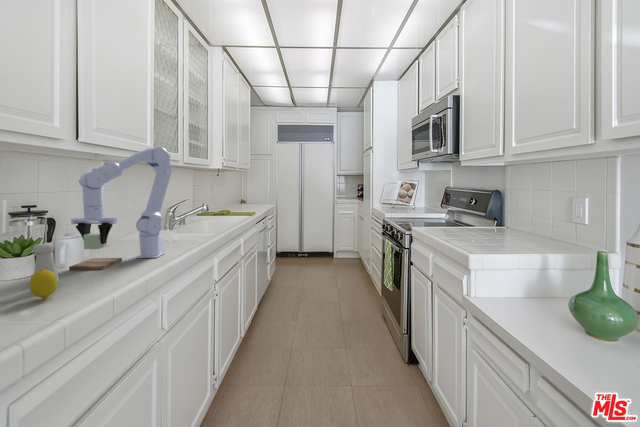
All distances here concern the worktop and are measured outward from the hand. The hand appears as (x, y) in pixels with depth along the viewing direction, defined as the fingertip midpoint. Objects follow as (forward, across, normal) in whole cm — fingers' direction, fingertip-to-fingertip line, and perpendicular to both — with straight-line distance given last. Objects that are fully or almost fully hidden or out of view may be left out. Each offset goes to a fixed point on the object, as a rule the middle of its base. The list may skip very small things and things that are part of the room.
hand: (95, 243), depth 121 cm
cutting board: (+8, 0, 0) cm, 8 cm away
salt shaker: (+8, +2, -28) cm, 29 cm away
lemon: (+8, +7, -36) cm, 38 cm away
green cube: (+1, 0, 0) cm, 1 cm away
